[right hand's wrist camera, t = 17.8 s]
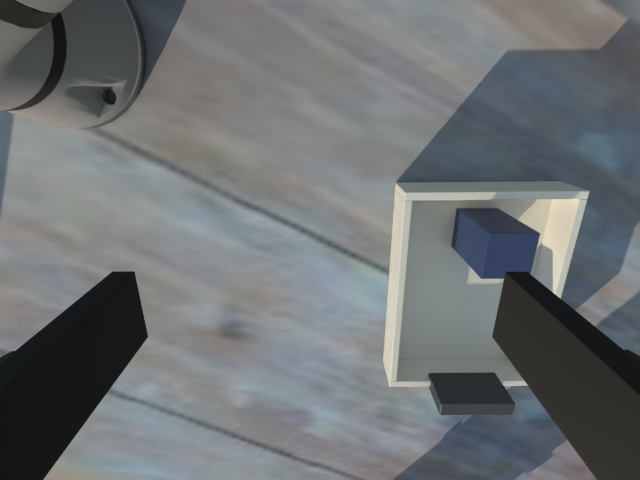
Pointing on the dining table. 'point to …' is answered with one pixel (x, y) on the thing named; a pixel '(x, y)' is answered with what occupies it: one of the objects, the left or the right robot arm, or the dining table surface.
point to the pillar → (493, 242)
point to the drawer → (465, 288)
